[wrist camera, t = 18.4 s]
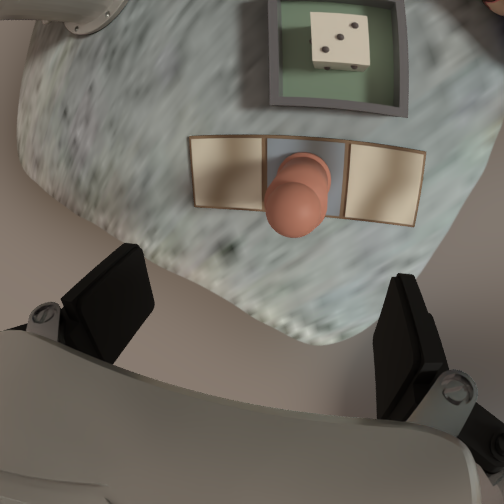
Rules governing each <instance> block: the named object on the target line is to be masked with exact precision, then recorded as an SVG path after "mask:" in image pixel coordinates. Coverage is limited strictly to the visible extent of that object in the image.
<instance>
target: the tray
mask: <svg viewBox="0 0 504 504" xmlns="http://www.w3.org/2000/svg"><path fill="white" fill-rule="evenodd" d="M310 12H327V13H342V14H353V15H363V16H367V19H368V32H369V50H370V66H369V67H368V68H367V69H366V70H365V71H364V72H357V71H346V70H333V69H330V70H325V69H315V68H314V65H313V61H312V45H311V44H310V43H309V40H310V39H312V37H311V18H310ZM268 31H269V90H270V105H280V106H308V107H324V108H336V109H347V110H356V111H364V112H372V113H379V114H386V115H392V116H398V117H404V118H408V94H409V65H408V40H407V26H406V15H405V6H404V0H268Z"/></svg>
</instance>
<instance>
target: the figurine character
mask: <svg viewBox="0 0 504 504" xmlns="http://www.w3.org/2000/svg"><path fill="white" fill-rule="evenodd" d="M482 1H483V3H484V4H485V5H486V6H487V7H488V8H489V9H490V10H492V11H493V12H495V13H496V14H499V15H501V16H504V0H482Z"/></svg>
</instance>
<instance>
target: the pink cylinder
mask: <svg viewBox="0 0 504 504" xmlns="http://www.w3.org/2000/svg"><path fill="white" fill-rule="evenodd" d="M330 186H331V174H330V170H329V168H328V166H327V164H326V163H325V161H324V160H323V159H322V158H320V157H319V156H317V155H315V154H313V153H310V152H297V153H294V154H292V155H290V156H288V157H287V158H286V159H285V160H284V161H283V162H282V163H281V165H280V166H279V168H278V171H277V175H276V177H275V178H274V180H273V181H272V183H271V184H270V185H269V187H268V188H267V190H266V193H265V197H264V206H265V210H266V217H267V220H268V222H269V224H270V225H271V227H272V228H273V229H274V230H275V231H276V232H277V233H279V234H281V235H283V236H285V237H290V238H298V237H302V236H305V235H307V234H309V233H310V232H311V231H313V230H314V228H316V227H317V226H318V225H319V224H320V223H321V222H322V221H323V219H324V217H325V215H326V212H327V203H328V192H329V190H330Z"/></svg>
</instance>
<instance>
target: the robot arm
mask: <svg viewBox="0 0 504 504" xmlns="http://www.w3.org/2000/svg"><path fill="white" fill-rule="evenodd" d="M128 1H129V0H0V20H42V23H43V24H44V25H47V24H49V23H50V22H52V21H58V22H64V24H65V26H66V28H67V29H68V30H69V31H70V32H71V33H73V34H78V35H87V34H92V33H94V32H97V31H99V30H100V29H102V28H104V27H105V26H106V25H108V24H109V23H110V22H111V21H113V19H114V18H115V17H116V16H117V15H118V14H119V13H120V12H121V11H122V9H123V8H124V7H125V5H126V4H127V2H128ZM61 301H62V303H63V306H64V307H63V308H62V309H61V308H60V306H59V304H57V303H55V302H47V303H44V304H41V305H39V306H38V307H36V308H35V309H34V310H33V311H32V312H31V314H30V316H29V320H28V323H27V324H24V325H20V326H17V327H14V328H11V329H7V330H4V331H0V504H504V423H502V422H501V421H500V420H498V419H497V418H496V417H495V416H493V415H492V414H491V413H489V412H488V411H487V410H486V409H484V408H483V407H482V406H480V405H479V404H478V403H476V400H477V396H478V391H477V387H476V384H475V382H474V381H473V379H472V378H471V377H470V376H469V375H468V374H466V373H464V372H462V371H460V370H449V368H448V364H447V360H446V357H445V353H444V350H443V347H442V343H441V340H440V337H439V334H438V331H437V328H436V325H435V322H434V319H433V317H432V315H431V314H430V313H428V311H427V308H426V306H425V303H424V300H423V297H422V295H421V292H420V289H419V287H418V284H417V282H416V279H415V277H414V275H412V274H403V273H398V274H397V276H396V277H392V278H391V280H390V284H389V287H388V291H387V294H386V298H385V301H384V304H383V308H382V311H381V314H380V317H379V320H378V323H377V326H376V329H375V332H374V335H373V352H374V365H375V381H376V402H377V419H370V418H355V417H343V416H332V415H323V414H314V413H306V412H298V411H291V410H284V409H277V408H271V407H265V406H260V405H254V404H249V403H244V402H239V401H234V400H229V399H226V398H221V397H217V396H212V395H208V394H204V393H201V392H196V391H193V390H189V389H185V388H182V387H178V386H175V385H172V384H168V383H165V382H161V381H158V380H155V379H152V378H149V377H146V376H143V375H140V374H137V373H134V372H131V371H128V370H126V369H123V368H120V367H117V366H115V365H113V364H114V362H115V361H116V359H117V358H118V357H119V355H120V354H121V352H122V351H123V350H124V348H125V347H126V346H127V344H128V343H129V342H130V340H131V339H132V337H133V336H134V335H135V333H136V332H137V331H138V329H139V328H140V326H141V325H142V324H143V323H144V321H145V320H146V318H147V317H148V316H149V315H150V313H151V312H152V311H153V309H154V305H155V304H154V298H153V294H152V290H151V286H150V282H149V277H148V273H147V268H146V264H145V259H144V254H143V250H142V249H141V248H140V247H139V245H137V244H131V243H124V244H122V245H121V246H120V247H119V248H117V249H116V250H115V251H114V252H113V253H112V254H110V255H109V256H108V257H107V258H106V259H104V260H103V261H102V262H101V263H100V264H99V265H97V266H96V267H95V268H94V269H93V270H92V271H90V272H89V273H88V274H87V275H86V276H85V277H84V278H83V279H81V281H79V282H78V283H77V284H76V285H75V286H74V287H73V288H72V289H70V291H68V292H67V293H66V294H65V295H64V296H63V297H62V298H61Z"/></svg>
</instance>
